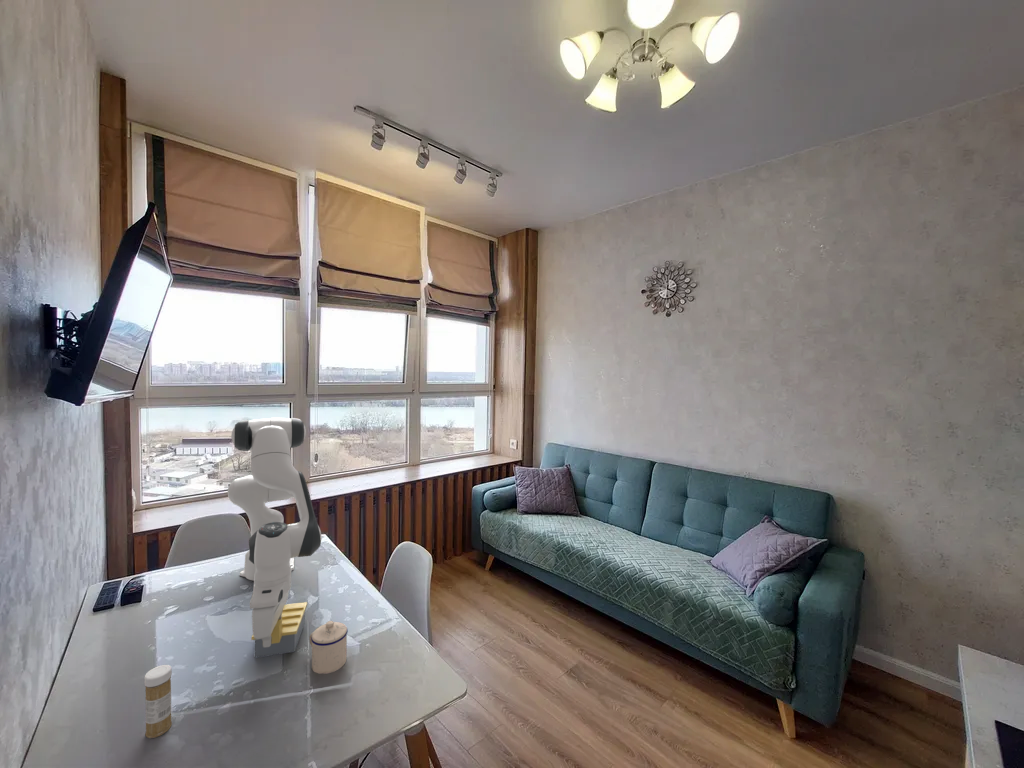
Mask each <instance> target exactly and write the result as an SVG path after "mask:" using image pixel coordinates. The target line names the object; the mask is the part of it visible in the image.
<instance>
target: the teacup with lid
mask: <svg viewBox="0 0 1024 768" xmlns="http://www.w3.org/2000/svg"><path fill="white" fill-rule="evenodd" d="M347 634H348V627H347V626H346V624H345V623H342V622H338V621H332V620H329V621H328V620H327V622H326V623H323V624H322V625H320V626H318V627H317V628H316V629H314V631H313V632H311V633H310V634H309V644H310V647H311V669H312V671H313V672H314V673H316V674H320V675H326V674H330V673H334V672H336V671H338V670H340V669H341V668H343V666H344V665H345V663H346V662H347V643H348V639H347V637H348V636H347Z"/></svg>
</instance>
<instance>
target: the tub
mask: <svg viewBox="0 0 1024 768" xmlns="http://www.w3.org/2000/svg"><path fill="white" fill-rule="evenodd" d="M305 624H306V611H305V612H304V615H303V618H302V620H301V623H300V626H299V628H298V631H297V634H292V635H285V636H282V638H281V640H280V642H279V643H273V644H271V646H270V647H265V648H264V647H263V641H262V639H258V640H254V648H253V649H254V651H253V652H254V653H253V654H254V655H253V656H254V658H262V657H270V656H275V655H276V656H277V655H283V654H288V653H295V651H296V649H297V646H298V643H299V641H300V639H301V634H302V632H303V630H304V626H305Z"/></svg>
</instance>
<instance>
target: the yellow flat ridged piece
mask: <svg viewBox="0 0 1024 768" xmlns="http://www.w3.org/2000/svg"><path fill="white" fill-rule="evenodd" d="M307 606H308V602H307V601H305V602H296V603H288V604H287V603H286V604H285V606H284V608H283V612H282V620H278V621H277V623H276V625H275V627H274V629H273V632H272V634H271V637H272V643H271V644H273V643H279V642H280V640H281V638H282V636H285V635H292V634H297V631H298V628H299V626H300V623H301V620H302V618H303V615H304V612H305V613H306V609H307ZM250 638H251V641H255V640H256V639H255V638H254V636H253V634H252V635H251V637H250Z"/></svg>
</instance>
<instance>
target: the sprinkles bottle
mask: <svg viewBox="0 0 1024 768" xmlns="http://www.w3.org/2000/svg"><path fill="white" fill-rule="evenodd" d="M172 672H173V670H172V666H171V665H169V664H161V665H158V666H156V667H154V668H151V669H150V670H148V671H147V672H146V674H145V675H144V687H145V701H144V703H145V706H144V707H145V709H144V710H145V737H146V738H148V739H155V738H158V737H160V736H162V735H164V734H165V733H166V732H168V731H169V730H170V729H171V727H172V725H173V721H172V679H171V678H172V675H173V673H172Z"/></svg>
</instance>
